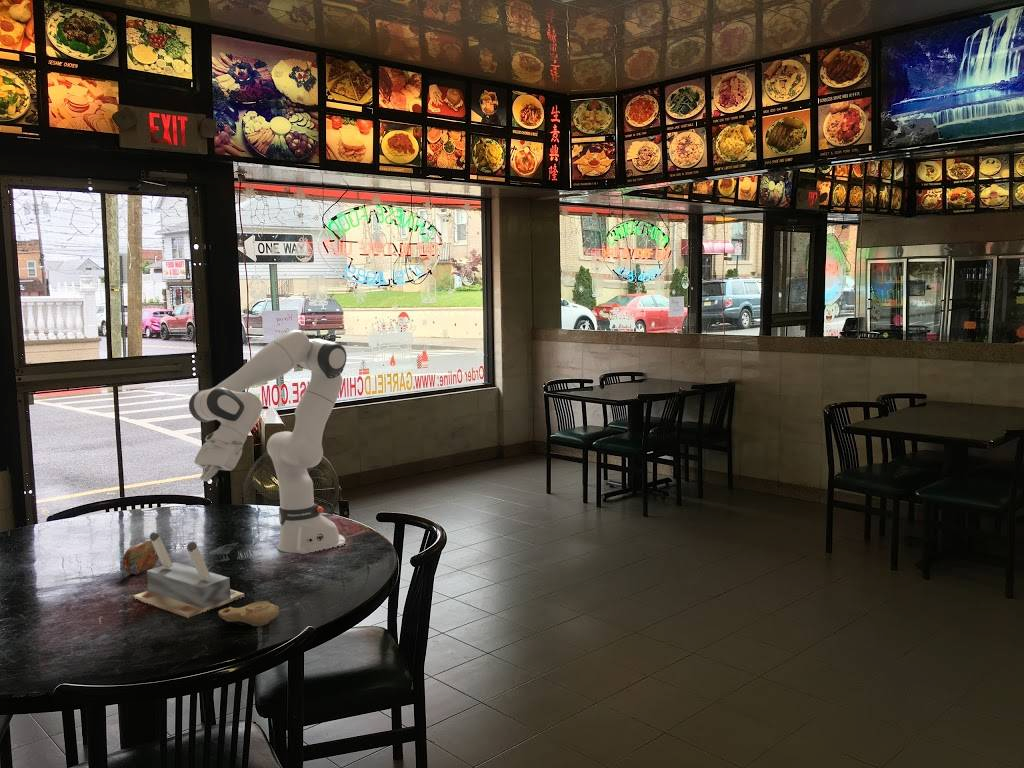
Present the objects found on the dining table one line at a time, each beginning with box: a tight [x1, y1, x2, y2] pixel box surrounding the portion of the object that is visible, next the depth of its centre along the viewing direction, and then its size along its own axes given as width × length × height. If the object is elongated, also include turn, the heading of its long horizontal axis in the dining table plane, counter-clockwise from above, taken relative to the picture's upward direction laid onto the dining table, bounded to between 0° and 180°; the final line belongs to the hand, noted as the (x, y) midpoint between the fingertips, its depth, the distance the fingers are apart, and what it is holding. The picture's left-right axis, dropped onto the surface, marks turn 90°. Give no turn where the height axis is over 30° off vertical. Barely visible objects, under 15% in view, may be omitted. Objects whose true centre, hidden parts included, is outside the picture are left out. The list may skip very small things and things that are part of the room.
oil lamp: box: [217, 600, 280, 627], centre depth 217 cm, size 11×14×5 cm
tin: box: [122, 539, 160, 575], centre depth 262 cm, size 15×3×8 cm, turn 168°
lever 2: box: [186, 541, 211, 580], centre depth 228 cm, size 3×3×12 cm
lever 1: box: [149, 531, 173, 568], centre depth 239 cm, size 3×3×12 cm
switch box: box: [133, 561, 245, 619], centre depth 237 cm, size 18×26×7 cm
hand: (204, 480), depth 250 cm, fingers closed
